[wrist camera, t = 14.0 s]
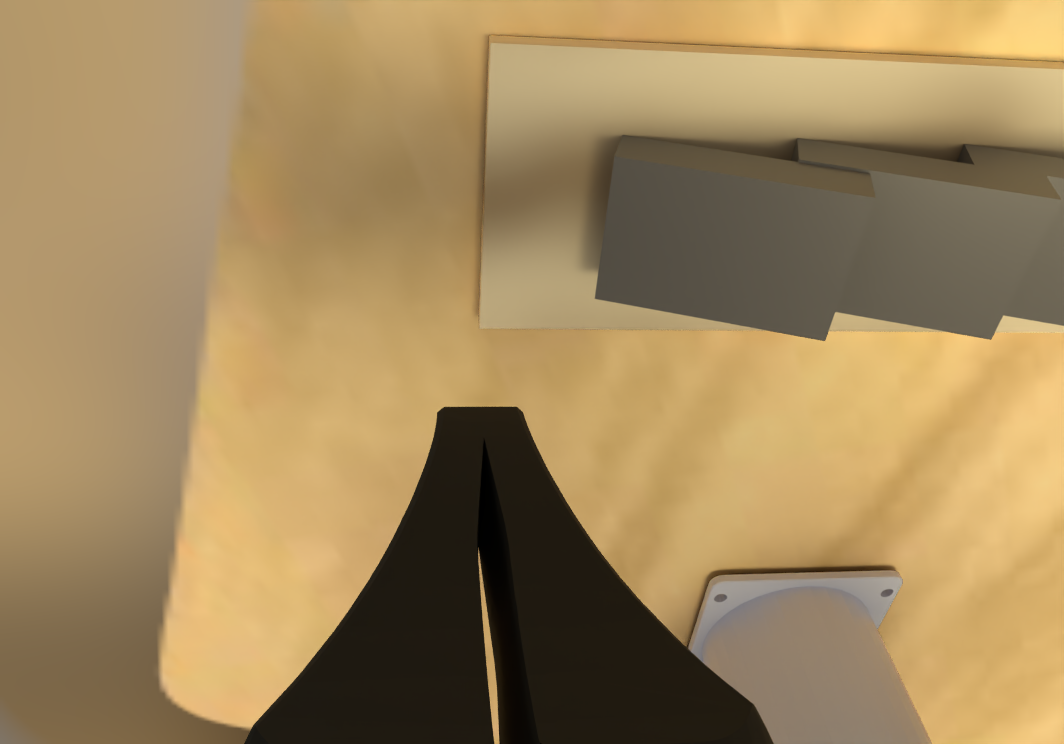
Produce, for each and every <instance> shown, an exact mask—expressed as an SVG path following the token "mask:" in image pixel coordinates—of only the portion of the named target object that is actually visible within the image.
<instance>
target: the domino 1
mask: <svg viewBox="0 0 1064 744" xmlns="http://www.w3.org/2000/svg"><path fill="white" fill-rule="evenodd" d="M875 199H876V197H875V193H874V188H873V184H872V180H871V175H870V173H865V172H859V171H852V170H846V169H840V168H833V167H827V166H820V165H814V164H807V163H801V162H795V161H788V160H782V159H775V158H769V157H763V156H756V155H750V154H743V153H737V152H731V151H724V150H718V149H711V148H705V147H698V146H692V145H686V144H679V143H673V142H666V141H660V140H654V139H647V138H641V137H634V136H628V135H622V138H621V140H620V143H619V146H618V148H617V151H616V153H615V156H614V163H613V170H612V177H611V185H610V192H609V199H608V206H607V213H606V220H605V228H604V235H603V242H602V249H601V256H600V264H599V271H598V278H597V285H596V292H595V299H598V300H604V301H609V302H615V303H620V304H625V305H631V306H636V307H642V308H647V309H653V310H658V311H664V312H669V313H675V314H680V315H685V316H691V317H696V318H702V319H707V320H713V321H718V322H724V323H729V324H734V325H740V326H745V327H751V328H756V329H762V330H767V331H773V332H778V333H784V334H789V335H794V336H800V337H805V338H811V339H816V340H822V341H825V340H826V337H827V334H828V331H829V328H830V326H831V323H832V320H833V317H834V314H835V312H836V309H837V306H838V303H839V300H840V297H841V295H842V292H843V289H844V286H845V283H846V281H847V278H848V275H849V272H850V269H851V266H852V264H853V261H854V258H855V255H856V252H857V249H858V247H859V244H860V241H861V238H862V235H863V233H864V230H865V227H866V224H867V221H868V218H869V216H870V213H871V210H872V207H873V204H874V202H875Z"/></svg>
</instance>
